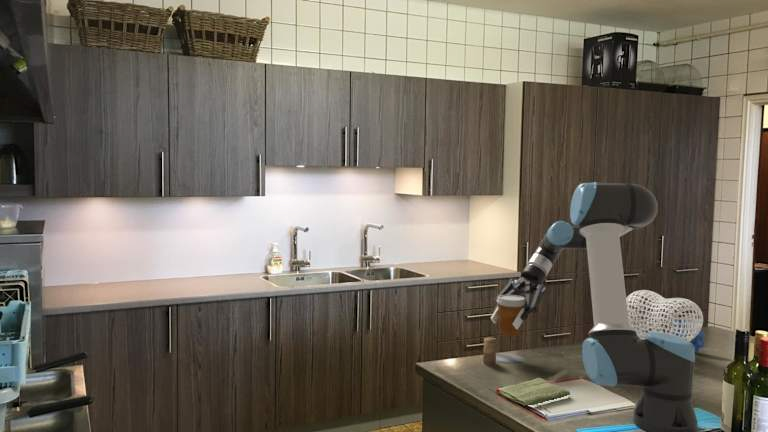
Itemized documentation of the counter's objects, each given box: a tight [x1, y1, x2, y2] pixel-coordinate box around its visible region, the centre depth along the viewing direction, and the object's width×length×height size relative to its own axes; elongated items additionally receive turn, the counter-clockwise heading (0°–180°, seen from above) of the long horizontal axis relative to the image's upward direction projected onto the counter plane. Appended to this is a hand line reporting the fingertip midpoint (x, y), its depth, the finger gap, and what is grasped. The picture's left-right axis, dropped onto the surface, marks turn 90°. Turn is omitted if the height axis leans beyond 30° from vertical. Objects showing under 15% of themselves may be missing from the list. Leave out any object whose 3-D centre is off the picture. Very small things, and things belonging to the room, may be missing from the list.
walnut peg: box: [482, 336, 498, 366], centre depth 211 cm, size 4×4×8 cm
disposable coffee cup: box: [495, 295, 526, 337], centre depth 216 cm, size 10×10×12 cm
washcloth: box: [497, 377, 571, 407], centre depth 186 cm, size 13×18×3 cm
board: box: [481, 353, 527, 367], centre depth 215 cm, size 20×12×1 cm, turn 140°
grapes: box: [672, 319, 706, 354], centre depth 234 cm, size 12×7×12 cm, turn 45°
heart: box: [626, 289, 704, 342], centre depth 226 cm, size 28×16×22 cm, turn 29°
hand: (503, 323), depth 214 cm, fingers closed on disposable coffee cup, 8 cm apart
